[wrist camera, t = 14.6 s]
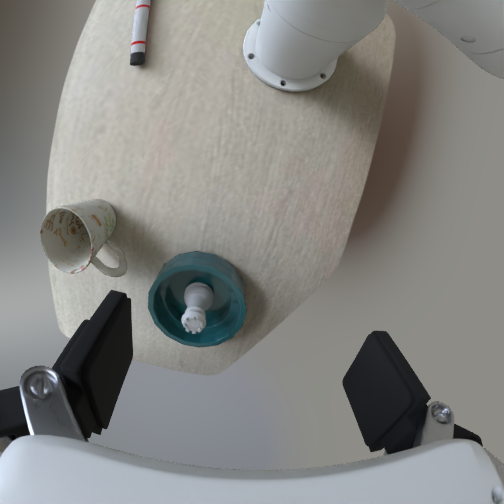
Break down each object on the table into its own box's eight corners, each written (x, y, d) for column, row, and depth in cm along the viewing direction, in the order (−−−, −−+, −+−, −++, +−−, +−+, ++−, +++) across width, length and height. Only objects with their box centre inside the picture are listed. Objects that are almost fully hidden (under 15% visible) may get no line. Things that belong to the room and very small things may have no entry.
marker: (145, 63, 28) (141, 60, 26) (132, 66, 28) (127, 63, 26) (154, -16, 22) (151, -21, 20) (142, -13, 22) (138, -18, 20)
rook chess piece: (216, 283, 40) (212, 315, 32) (212, 308, 41) (208, 342, 34) (186, 278, 39) (176, 308, 32) (183, 303, 41) (174, 336, 33)
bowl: (160, 242, 37) (150, 255, 33) (253, 259, 39) (255, 275, 35) (155, 318, 42) (147, 337, 38) (235, 333, 44) (235, 353, 39)
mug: (96, 179, 33) (57, 192, 24) (154, 237, 37) (131, 267, 28) (69, 219, 35) (32, 241, 26) (123, 273, 39) (98, 308, 30)
